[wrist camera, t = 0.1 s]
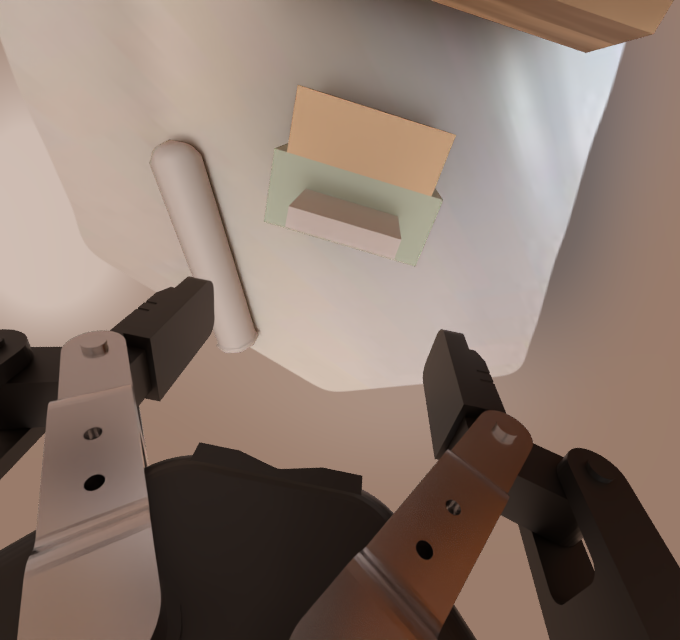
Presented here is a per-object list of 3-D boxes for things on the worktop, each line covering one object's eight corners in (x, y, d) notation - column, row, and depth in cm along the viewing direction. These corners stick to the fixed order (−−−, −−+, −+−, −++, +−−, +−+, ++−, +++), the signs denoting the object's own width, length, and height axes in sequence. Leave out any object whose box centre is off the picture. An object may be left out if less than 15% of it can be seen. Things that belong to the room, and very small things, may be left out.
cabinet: (309, 88, 33) (258, 73, 19) (446, 131, 34) (490, 147, 20) (290, 196, 38) (239, 244, 25) (408, 232, 39) (421, 297, 26)
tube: (129, 145, 34) (210, 350, 46) (166, 139, 31) (241, 356, 44) (171, 139, 38) (236, 329, 50) (207, 133, 35) (265, 334, 48)
